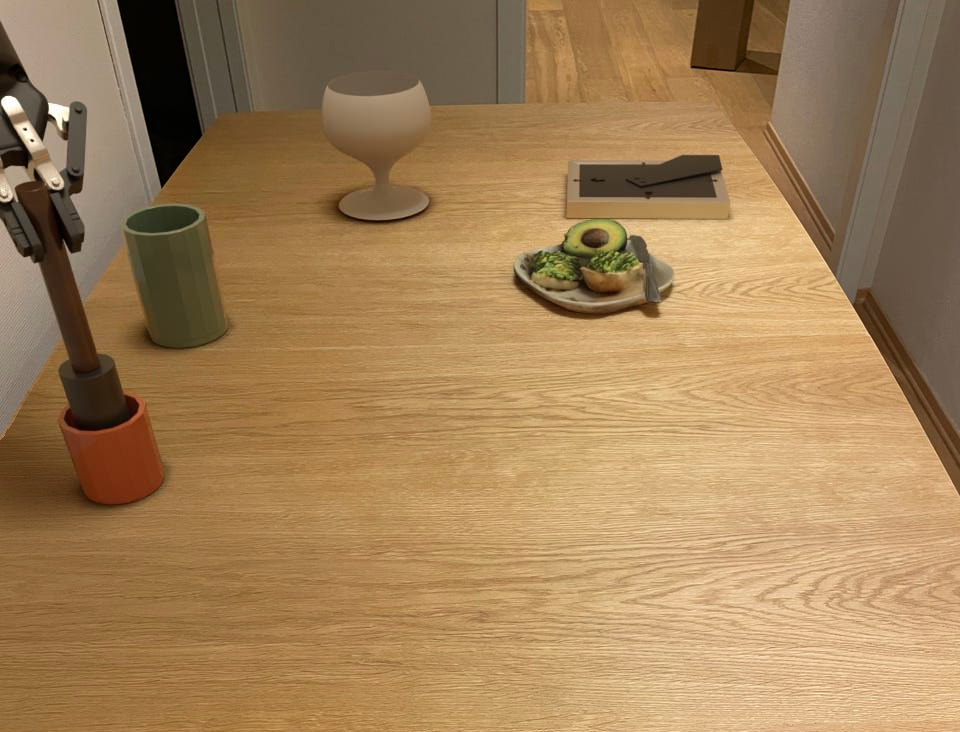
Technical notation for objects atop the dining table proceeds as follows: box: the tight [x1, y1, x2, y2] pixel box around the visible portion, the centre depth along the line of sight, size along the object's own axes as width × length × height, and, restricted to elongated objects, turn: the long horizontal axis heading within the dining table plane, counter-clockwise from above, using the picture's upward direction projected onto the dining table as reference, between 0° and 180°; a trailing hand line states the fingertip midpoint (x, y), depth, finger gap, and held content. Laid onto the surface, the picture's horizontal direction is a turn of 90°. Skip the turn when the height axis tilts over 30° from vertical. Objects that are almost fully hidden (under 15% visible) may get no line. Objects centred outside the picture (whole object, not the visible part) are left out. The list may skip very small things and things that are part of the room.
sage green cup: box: [119, 203, 229, 349], centre depth 106 cm, size 8×8×12 cm
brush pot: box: [57, 390, 165, 505], centre depth 87 cm, size 7×7×7 cm
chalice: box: [321, 69, 432, 221], centre depth 131 cm, size 14×14×15 cm
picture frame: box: [565, 154, 731, 220], centre depth 135 cm, size 16×3×21 cm
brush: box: [14, 180, 131, 431], centre depth 79 cm, size 4×4×20 cm
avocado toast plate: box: [512, 218, 676, 315], centre depth 114 cm, size 19×18×5 cm
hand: (57, 251), depth 73 cm, fingers closed on brush, 2 cm apart
